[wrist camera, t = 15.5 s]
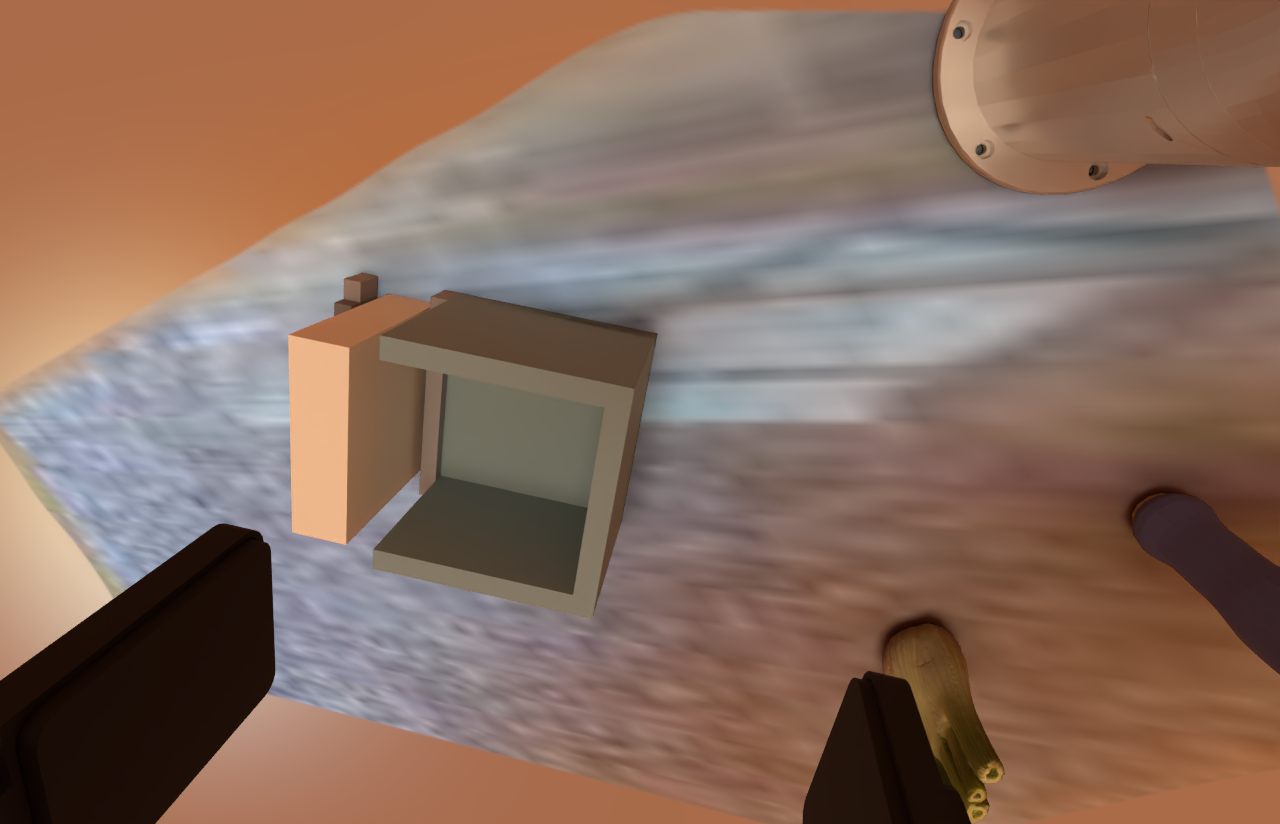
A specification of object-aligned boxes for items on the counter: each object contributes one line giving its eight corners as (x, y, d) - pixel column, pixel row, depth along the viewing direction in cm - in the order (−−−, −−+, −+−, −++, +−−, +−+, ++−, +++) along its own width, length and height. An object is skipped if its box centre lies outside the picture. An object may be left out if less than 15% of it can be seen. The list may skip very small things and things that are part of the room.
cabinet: (657, 333, 40) (634, 388, 30) (621, 522, 45) (592, 618, 35) (361, 273, 41) (252, 308, 31) (358, 463, 45) (262, 543, 36)
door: (436, 303, 41) (349, 347, 32) (425, 463, 45) (346, 544, 36) (373, 290, 41) (268, 330, 32) (368, 451, 45) (274, 528, 36)
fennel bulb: (907, 690, 46) (962, 859, 35) (856, 648, 46) (895, 807, 35) (975, 642, 44) (1056, 805, 33) (923, 598, 44) (988, 749, 33)
